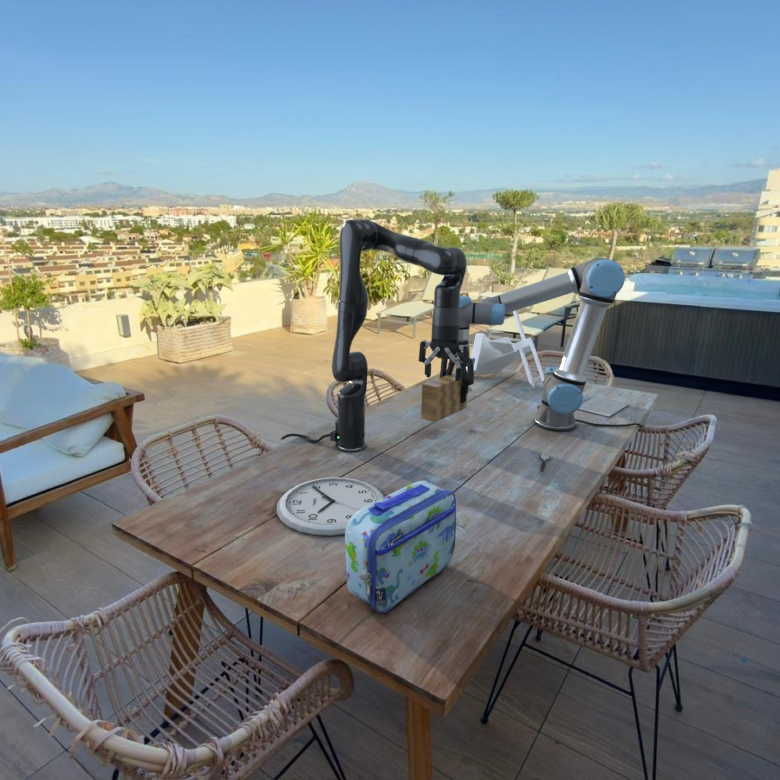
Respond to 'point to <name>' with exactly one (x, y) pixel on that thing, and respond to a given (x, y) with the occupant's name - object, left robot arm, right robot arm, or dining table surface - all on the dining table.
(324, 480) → the wall clock
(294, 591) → the dining table surface
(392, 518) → the lunch box
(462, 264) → the left robot arm
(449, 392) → the box
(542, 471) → the fork
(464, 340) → the right robot arm
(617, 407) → the invitation card
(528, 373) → the white plastic object
